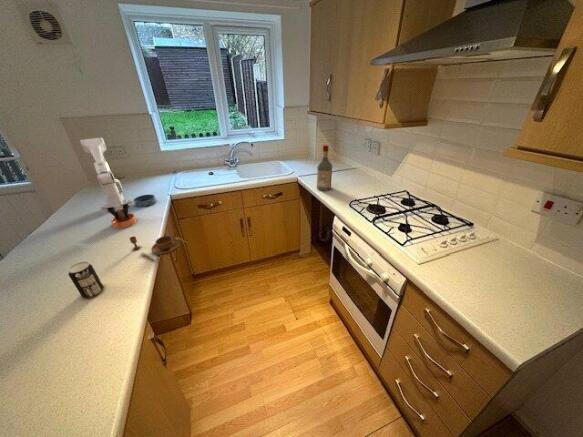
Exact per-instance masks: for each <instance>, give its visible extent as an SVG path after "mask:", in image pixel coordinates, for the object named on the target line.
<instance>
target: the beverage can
mask: <svg viewBox="0 0 583 437" xmlns="http://www.w3.org/2000/svg"><path fill="white" fill-rule="evenodd" d="M67 272H68V277H69V278H70V279H71V281H72V283H73V285H74V286H75V288H76V290H77V291H78V293H79V294H80V296H81V298H84V299H85V298H86V299H90V298H94V297H96V296H97V295H100V293H101V292H102V291H103V289H104V284H103V282H102V281H101V279H100V278H99V276H98V274H97V271H96V270H95V268H94V267H93V265H92V264H91V263H90V262H89V261H80V262H77V263H74V264H73V265H71V266H70V267H69V268H67Z"/></svg>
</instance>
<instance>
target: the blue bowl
mask: <svg viewBox="0 0 583 437" xmlns="http://www.w3.org/2000/svg"><path fill="white" fill-rule="evenodd" d="M132 200H133V202H134V204H133V205H134V206H135V207H137V208H146V207H149V206H152V205H154V204H155V203H156V202H157V200H156V196H155V195H154V194H151V193H150V194H149V193H148V194H142V195H139V196H136V197H135V198H133V199H132Z"/></svg>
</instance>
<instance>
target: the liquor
mask: <svg viewBox="0 0 583 437" xmlns="http://www.w3.org/2000/svg"><path fill="white" fill-rule="evenodd" d="M316 170H317V172H316V175H317V176H316V177H317V178H316V189H317V190H318V191H323V192H328V191H330V190H331V187H332V177H333V164H332V163H331V161H329V145H328V144H323V145H322V159H321V161H320V162H319V164H318V165H317V169H316Z"/></svg>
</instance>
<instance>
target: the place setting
mask: <svg viewBox="0 0 583 437" xmlns="http://www.w3.org/2000/svg"><path fill="white" fill-rule="evenodd" d="M137 240H138V239H137V237H136V236H134V235H133V236H130V237H129V241H130V243H131V244H132V245H133V246H134V247H133V249H132V250H133V251H138V250H140V249H141V246H139V245H138V244H137V242H138V241H137ZM181 241H182V242H183V243H185V244H188V242H187V241H185V240H184V239H182V238H181V237H180V236H175V238H173V237H172V236H171V235H164V236H161V237H158V238H157V239H156V240H155V243H154V244H153V245H152V246H151V248H150V251H151V252H152V254H154V255H155V256H165V255H166V256H167V255H169V254H172V253H174V252H175V251H177V250H178V249H179V247H180V245H181V243H180V242H181ZM140 256H142V257H144V258H145V257H146V258H147V259H149V260H150V261H152V262H155V259H153V258H151V257H150V256H148V255H147V254H146V253H144V252H141V253H140Z"/></svg>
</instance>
